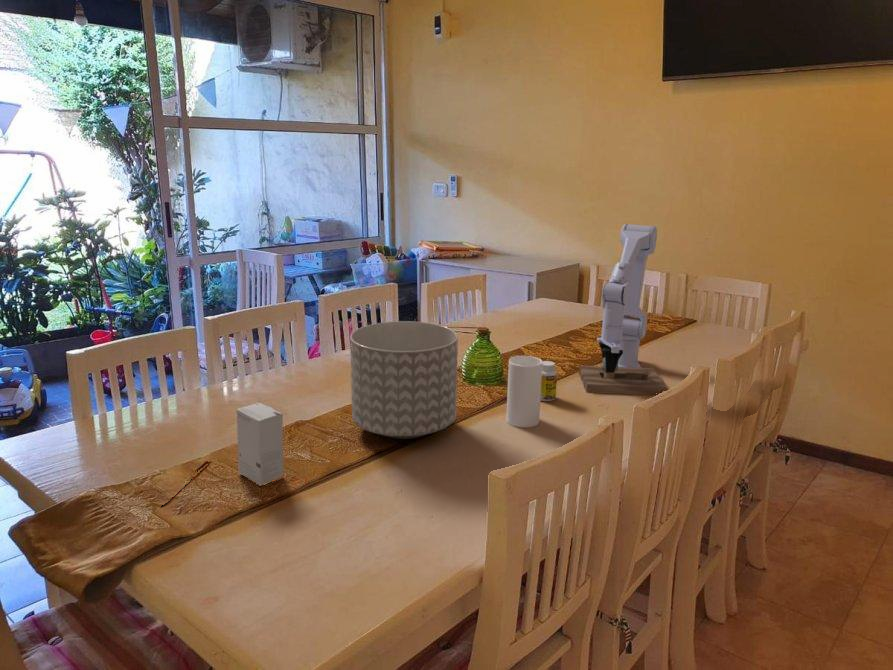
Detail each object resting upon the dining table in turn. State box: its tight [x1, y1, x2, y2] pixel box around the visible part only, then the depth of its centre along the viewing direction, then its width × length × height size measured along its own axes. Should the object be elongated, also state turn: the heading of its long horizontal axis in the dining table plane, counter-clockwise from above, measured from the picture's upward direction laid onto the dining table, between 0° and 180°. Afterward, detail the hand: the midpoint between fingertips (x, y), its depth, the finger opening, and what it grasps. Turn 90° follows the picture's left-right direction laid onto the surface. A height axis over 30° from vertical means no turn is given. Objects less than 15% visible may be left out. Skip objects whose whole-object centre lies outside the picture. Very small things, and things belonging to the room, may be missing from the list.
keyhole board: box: [578, 365, 667, 396], centre depth 193 cm, size 16×22×2 cm
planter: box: [349, 320, 459, 440], centre depth 157 cm, size 25×25×24 cm
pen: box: [193, 460, 210, 474], centre depth 134 cm, size 1×19×1 cm, turn 172°
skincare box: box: [236, 402, 284, 485], centre depth 135 cm, size 8×6×15 cm
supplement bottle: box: [540, 360, 558, 402], centre depth 180 cm, size 6×6×10 cm
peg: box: [601, 358, 618, 378], centre depth 193 cm, size 4×4×7 cm
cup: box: [505, 355, 543, 429], centre depth 164 cm, size 8×8×16 cm
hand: (608, 369), depth 193 cm, fingers closed on peg, 4 cm apart
